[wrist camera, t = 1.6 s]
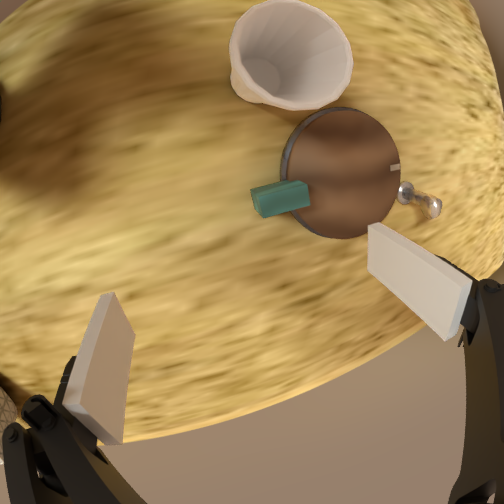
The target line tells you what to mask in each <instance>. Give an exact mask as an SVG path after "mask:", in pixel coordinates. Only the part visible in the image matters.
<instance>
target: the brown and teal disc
mask: <svg viewBox="0 0 504 504" xmlns="http://www.w3.org/2000/svg"><path fill="white" fill-rule="evenodd" d="M400 174H401V172H400V160H399V155H398V151H397V148H396V146H395V143H394V141H393V139H392V137H391V136H390V134H389V133H388V131H387V130H386V129H385V128H384V127H383V126H382V125H381V124H380V123H379V122H378V121H377V120H375V119H374V118H372V117H371V116H368V115H366V114H364V113H361V112H357V111H350V110H349V111H335V112H330V113H327V114H324V115H321V116H319V117H318V118H316V119H314V120H313V121H312V122H310V123H309V124H308V125H307V126H306V127H305V128H304V129H303V130H302V131H301V132H300V134H299V135H298V137H297V138H296V140H295V142H294V144H293V146H292V148H291V151H290V153H289V157H288V161H287V169H286V180H285V181H281V182H277V183H273V184H269V185H266V186H262V187H258V188H254V189H251V190H250V191H251V195H252V199H253V203H254V208H255V210H256V211H257V212H258V213H259V214H260V215H261V216H262V218H267V217H270V216H273V215H277V214H280V213H284V212H288V211H291V210H296V212H297V213H298V215H299V216H300V217H301V219H302V220H303V221H304V222H305V223H306V224H308V225H309V226H310V227H311V228H313V229H314V230H315V231H317V232H319V233H320V234H322V235H325V236H328V237H331V238H336V239H348V238H353V237H357V236H360V235H362V234H365V233H366V232H368V225H371V224H374V223H378V222H381V221H382V220H383V218H384V217H385V216H386V215H387V213H388V212H389V210H390V209H391V207H392V205H393V203H394V201H395V198H396V196H397V192H398V189H399V184H400Z"/></svg>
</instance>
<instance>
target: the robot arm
mask: <svg viewBox="0 0 504 504" xmlns="http://www.w3.org/2000/svg"><path fill="white" fill-rule="evenodd" d="M0 2H1V0H0ZM0 120H1V97H0ZM367 271H369V272H370V273H371V274H372V275H373V276H374V277H375V278H377V279H378V280H379V281H380V282H381V283H382V284H383V285H385V286H386V287H387V288H388V289H389V290H390V291H391V292H393V293H394V294H395V295H396V296H397V297H398V298H399V299H400V300H401V301H403V302H404V303H405V304H406V305H407V306H408V307H409V308H410V309H411V310H412V311H413V312H414V313H416V314H417V315H418V316H419V317H420V318H421V319H422V320H423V321H424V322H425V323H426V324H427V325H428V326H429V327H431V329H432V330H434V331H435V332H436V333H437V334H438V335H439V336H440V337H441V338H442V339H443V340H444V341H447V340H448V339H450V338H451V337H453V336H454V335H456V333H457V330H458V328H459V325H460V324H462V325H463V326H464V330H463V332H462V335H461V337H460V340H459V343H458V347H460V345H461V343H462V341H463V343H464V345H463V347H464V353H465V367H466V426H465V439H464V450H463V458H462V465H461V471H460V475H459V477H458V479H457V481H456V482H455V484H454V486H453V488H452V490H451V494H450V497H449V501H448V504H490V503H487V501H488V499H489V497H490V496H491V495H492V494H493V493H495V498H494V503H493V504H504V284H502V285H501V284H499V283H498V282H496V281H494V280H492V279H482V280H480V281H478V280H476V279H475V278H473V277H472V276H471V275H469V274H468V273H466V272H465V271H463V270H462V269H460V268H458V267H457V266H456V265H454V264H451V262H450V261H448V260H446V259H445V258H443V257H440V256H437V255H434V254H432V253H430V252H429V251H427V250H426V249H424V248H422V247H421V246H419V245H417V244H416V243H414V242H412V241H411V240H409V239H407V238H406V237H404V236H402V235H401V234H399V233H397V232H395V231H394V230H392V229H390V228H388V227H387V226H385V225H383V224H381V223H380V222H378V223H374V224H371V225H368V265H367ZM134 340H135V333H134V331H133V329H132V327H131V325H130V323H129V321H128V319H127V317H126V315H125V314H124V312H123V310H122V307H121V305H120V303H119V301H118V299H117V297H116V295H115V293H114V292H111V293H107V294H103V295H101V296H100V298H99V300H98V303H97V305H96V307H95V310H94V312H93V315H92V317H91V320H90V322H89V325H88V327H87V330H86V332H85V335H84V338H83V340H82V343H81V346H80V349H79V351H78V354H77V356H72V358H71V359H70V361H69V362H68V363H67V365H66V367H65V370H64V373H63V376H62V378H61V381H60V382H61V384H60V385H59V388H58V391H57V394H56V397H55V401H54V404H53V405H52V404H51V403H50V402H49V401H48V400H47V399H46V398H45V397H44V396H43V395H40V394H39V395H34V396H32V397H30V398H29V399H28V400H27V401H26V402H25V404H24V406H23V408H22V412H21V415H22V419H23V420H24V421H25V422H26V423H28V424H29V425H30V426H31V427H32V428H29V429H25V428H23V427H22V426H21V425H20V424H19V423H17V422H13V423H11V424H9V425H8V426H7V427H6V428H5V430H4V432H3V436H2V446H3V458H4V467H5V475H6V482H7V488H8V493H9V498H10V502H11V504H147V503H146V502H145V501H144V500H143V499H142V498H141V497H140V496H139V495H138V494H137V493H136V492H135V491H134V489H133V488H132V487H131V486H130V485H129V484H128V483H127V482H126V480H125V479H124V478H123V477H122V476H121V475H120V473H119V472H118V471H117V470H116V469H115V467H114V466H113V465H112V464H111V462H110V461H109V460H108V458H107V457H106V456H105V455H104V453H103V452H102V450H101V449H100V448H98V447H97V446H96V445H97V438H98V439H99V440H100V441H101V442H102V443H104V444H105V445H122V444H123V429H124V417H125V406H126V397H127V388H128V380H129V373H130V366H131V359H132V353H133V346H134ZM37 471H38V472H39V477H38V474H37Z"/></svg>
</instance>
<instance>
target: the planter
mask: <svg viewBox="0 0 504 504" xmlns="http://www.w3.org/2000/svg"><path fill="white" fill-rule="evenodd" d="M17 415H18V411H17V408H16V406H15V404H14V402H13V401H12V400H11V398H10V397H9V396H8V395H7V393H6V392H5V391H4V390H3V389H2V387H1V386H0V464H4V458H3V446H2V436H3V432H4V430H5V428H6V427H7V426H8V425H9V424H11V423H13V422H15V421H16V418H17Z"/></svg>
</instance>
